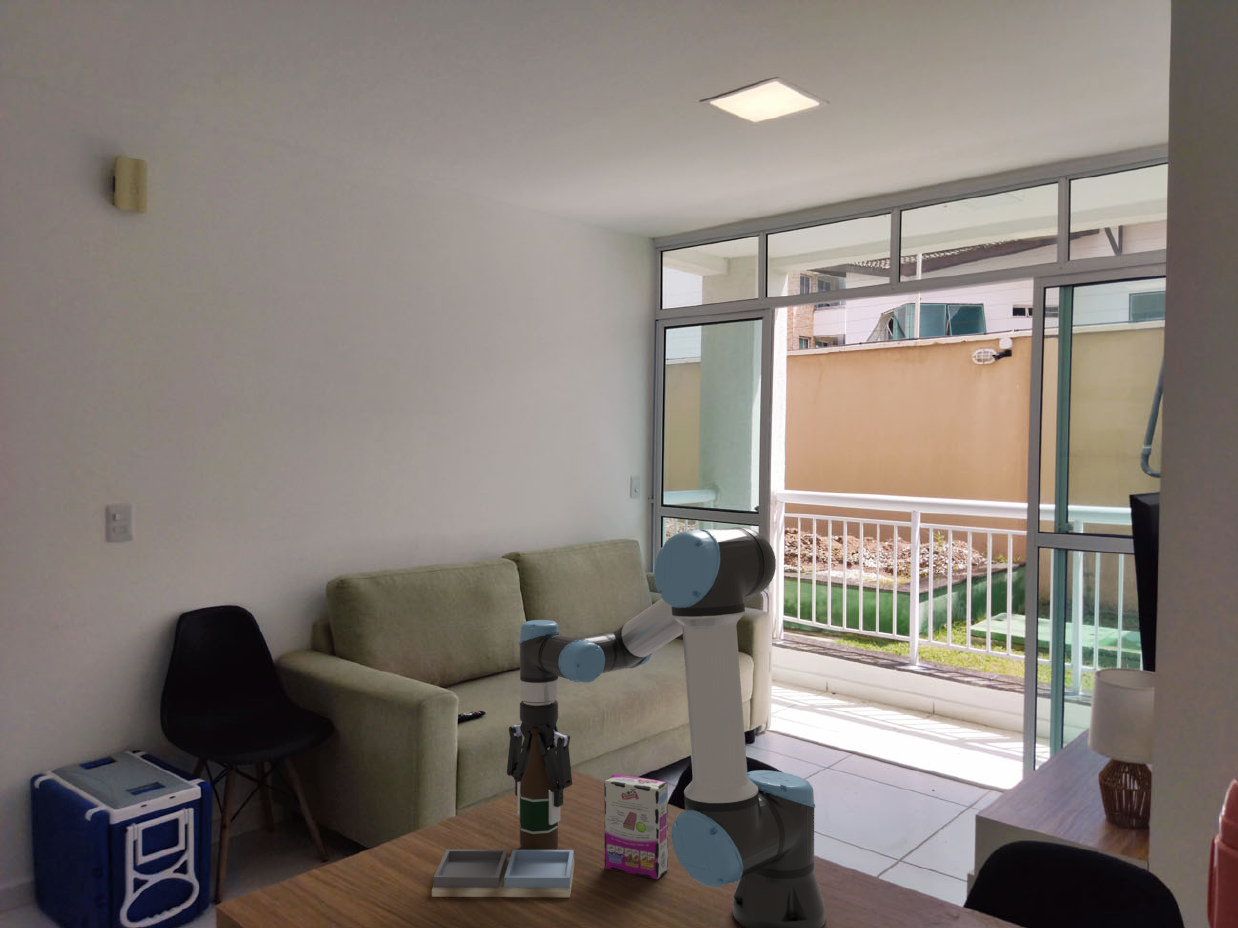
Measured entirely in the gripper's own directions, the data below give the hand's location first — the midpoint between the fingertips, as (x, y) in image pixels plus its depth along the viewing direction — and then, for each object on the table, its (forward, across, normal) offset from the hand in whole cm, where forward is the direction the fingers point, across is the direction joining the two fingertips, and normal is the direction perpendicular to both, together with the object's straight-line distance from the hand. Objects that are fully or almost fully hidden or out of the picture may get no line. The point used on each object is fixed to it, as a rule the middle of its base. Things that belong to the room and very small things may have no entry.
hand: (538, 817), depth 173 cm
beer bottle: (+6, 0, 0) cm, 6 cm away
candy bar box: (+6, -20, -4) cm, 22 cm away
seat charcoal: (+5, +2, +17) cm, 18 cm away
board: (+6, -4, +14) cm, 15 cm away
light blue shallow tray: (+5, -9, +10) cm, 14 cm away
